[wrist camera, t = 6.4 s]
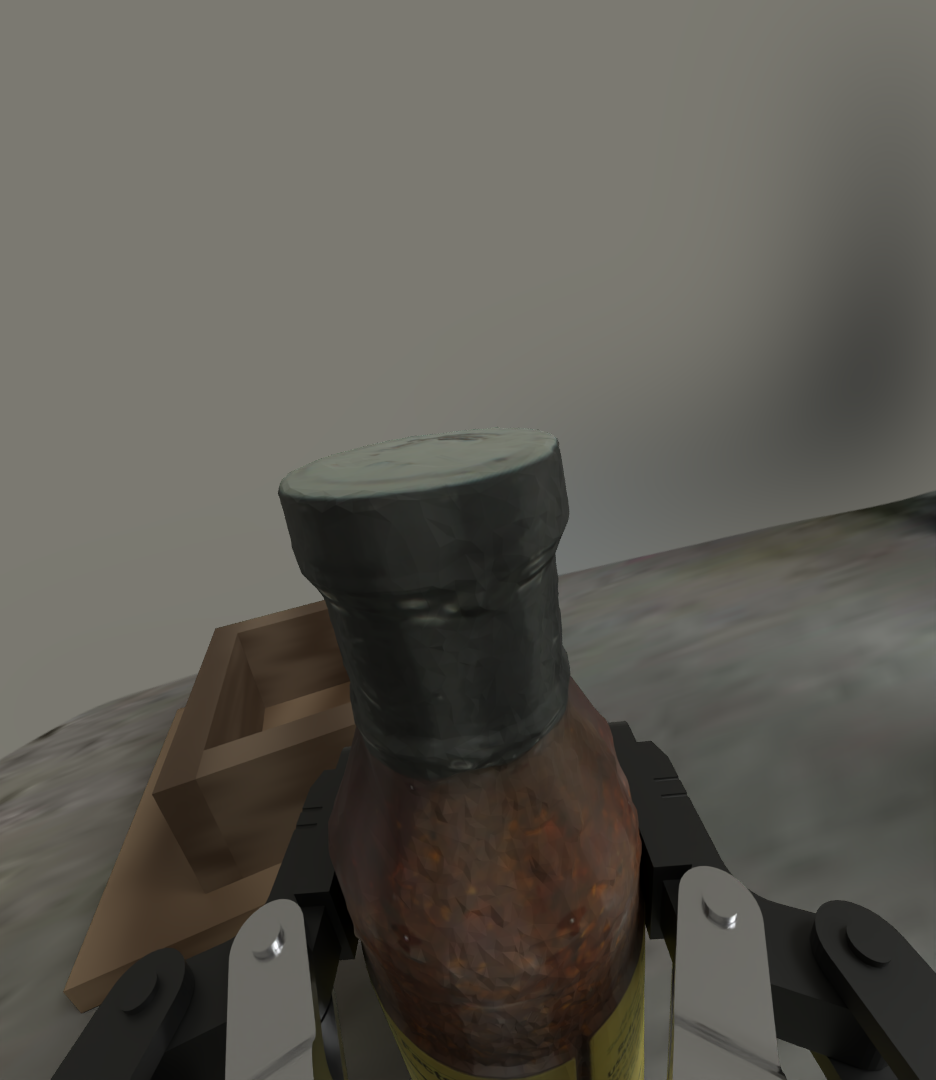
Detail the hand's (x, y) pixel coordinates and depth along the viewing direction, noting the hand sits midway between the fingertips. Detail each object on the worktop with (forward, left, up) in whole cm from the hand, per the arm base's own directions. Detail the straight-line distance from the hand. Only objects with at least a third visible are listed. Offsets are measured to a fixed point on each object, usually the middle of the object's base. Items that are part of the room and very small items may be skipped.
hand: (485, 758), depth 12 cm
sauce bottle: (+1, +2, -11) cm, 11 cm away
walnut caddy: (+5, -14, -11) cm, 18 cm away
